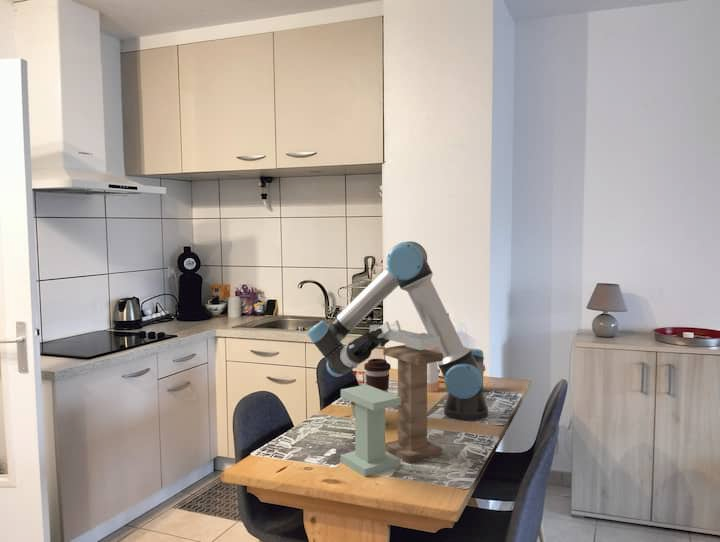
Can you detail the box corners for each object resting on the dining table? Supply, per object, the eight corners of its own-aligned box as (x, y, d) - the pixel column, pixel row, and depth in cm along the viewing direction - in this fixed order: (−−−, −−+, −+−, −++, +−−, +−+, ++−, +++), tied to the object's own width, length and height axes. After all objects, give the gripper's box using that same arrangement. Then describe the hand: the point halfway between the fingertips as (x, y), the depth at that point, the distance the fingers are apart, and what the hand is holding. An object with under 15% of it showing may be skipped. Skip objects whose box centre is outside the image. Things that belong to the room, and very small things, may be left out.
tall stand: (379, 448, 180) (379, 348, 178) (411, 439, 187) (411, 343, 184) (413, 466, 167) (413, 358, 164) (446, 456, 174) (446, 353, 171)
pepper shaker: (425, 392, 238) (425, 344, 237) (418, 387, 245) (418, 341, 244) (442, 391, 240) (442, 343, 239) (435, 386, 247) (435, 340, 246)
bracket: (364, 335, 188) (364, 326, 188) (382, 333, 192) (382, 323, 192) (420, 350, 166) (420, 339, 165) (439, 347, 169) (439, 336, 169)
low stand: (336, 459, 172) (336, 390, 170) (371, 450, 178) (371, 383, 177) (369, 479, 158) (368, 404, 157) (405, 468, 165) (405, 396, 164)
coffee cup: (389, 403, 224) (389, 363, 223) (362, 402, 226) (362, 363, 224) (391, 396, 234) (391, 357, 233) (366, 395, 235) (366, 357, 234)
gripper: (379, 359, 202) (418, 333, 184) (338, 366, 193) (375, 340, 175) (372, 339, 205) (410, 311, 187) (332, 344, 196) (367, 316, 178)
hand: (393, 325), depth 181 cm, fingers closed on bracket, 3 cm apart
